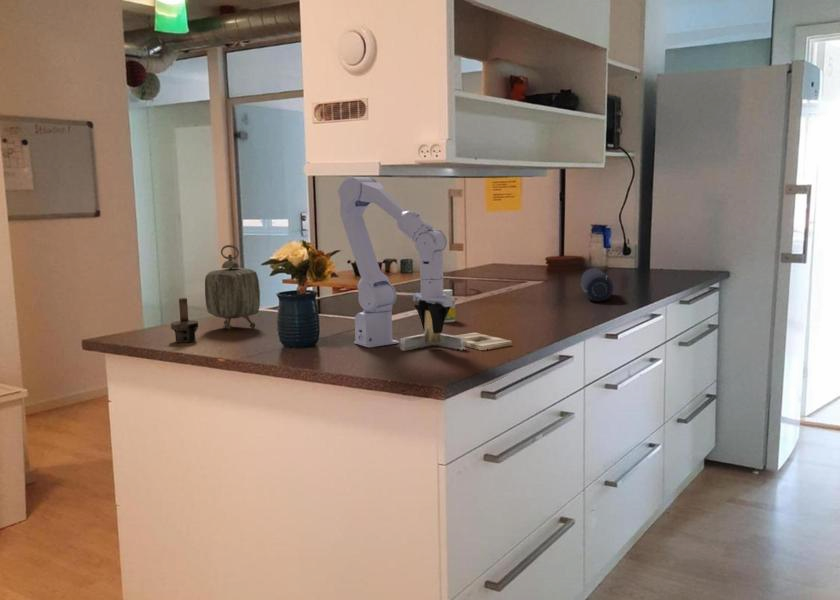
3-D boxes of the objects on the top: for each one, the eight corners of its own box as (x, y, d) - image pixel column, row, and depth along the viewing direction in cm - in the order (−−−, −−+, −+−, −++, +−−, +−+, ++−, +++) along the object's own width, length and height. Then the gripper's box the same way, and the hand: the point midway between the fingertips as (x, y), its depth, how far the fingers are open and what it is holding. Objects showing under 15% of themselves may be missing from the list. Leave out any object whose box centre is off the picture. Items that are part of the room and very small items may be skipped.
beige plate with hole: (511, 345, 200) (511, 340, 200) (481, 350, 194) (481, 345, 194) (474, 336, 212) (474, 332, 212) (445, 341, 207) (445, 337, 206)
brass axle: (430, 343, 195) (430, 311, 193) (421, 340, 198) (421, 309, 197) (443, 341, 197) (443, 310, 196) (434, 338, 200) (434, 308, 199)
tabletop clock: (261, 327, 233) (257, 244, 230) (240, 332, 226) (235, 246, 222) (226, 324, 241) (221, 243, 237) (204, 329, 233) (199, 245, 229)
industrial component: (205, 340, 215) (202, 297, 213) (184, 345, 209) (181, 301, 208) (183, 337, 221) (180, 295, 219) (162, 341, 215) (159, 298, 213)
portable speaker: (614, 303, 268) (614, 274, 266) (584, 303, 269) (585, 274, 268) (606, 293, 292) (606, 267, 291) (579, 293, 294) (579, 267, 292)
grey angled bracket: (465, 350, 195) (465, 338, 195) (400, 350, 196) (400, 339, 196) (465, 342, 204) (464, 331, 204) (402, 343, 205) (402, 332, 205)
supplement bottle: (458, 320, 239) (457, 289, 238) (450, 323, 234) (449, 291, 233) (442, 319, 242) (442, 288, 240) (434, 322, 237) (434, 290, 236)
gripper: (462, 279, 191) (462, 333, 193) (428, 274, 203) (429, 326, 205) (438, 282, 187) (439, 337, 189) (405, 277, 199) (406, 329, 201)
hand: (432, 331), depth 197 cm, fingers closed on brass axle, 4 cm apart
